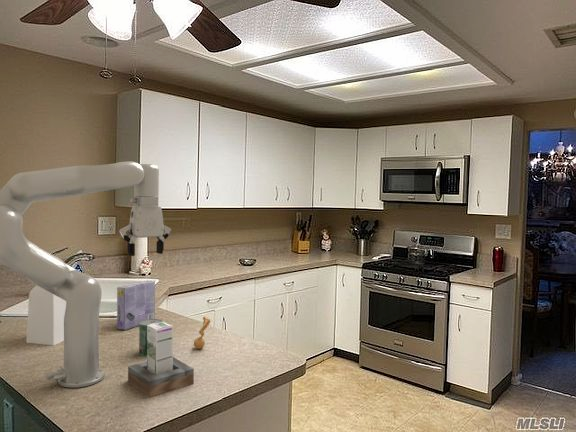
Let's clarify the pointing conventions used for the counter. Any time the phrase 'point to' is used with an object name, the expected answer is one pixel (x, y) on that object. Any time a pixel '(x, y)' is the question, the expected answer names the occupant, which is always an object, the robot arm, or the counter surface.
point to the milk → (45, 317)
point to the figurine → (199, 341)
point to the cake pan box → (135, 304)
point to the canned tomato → (144, 335)
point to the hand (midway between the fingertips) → (145, 254)
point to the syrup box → (159, 348)
